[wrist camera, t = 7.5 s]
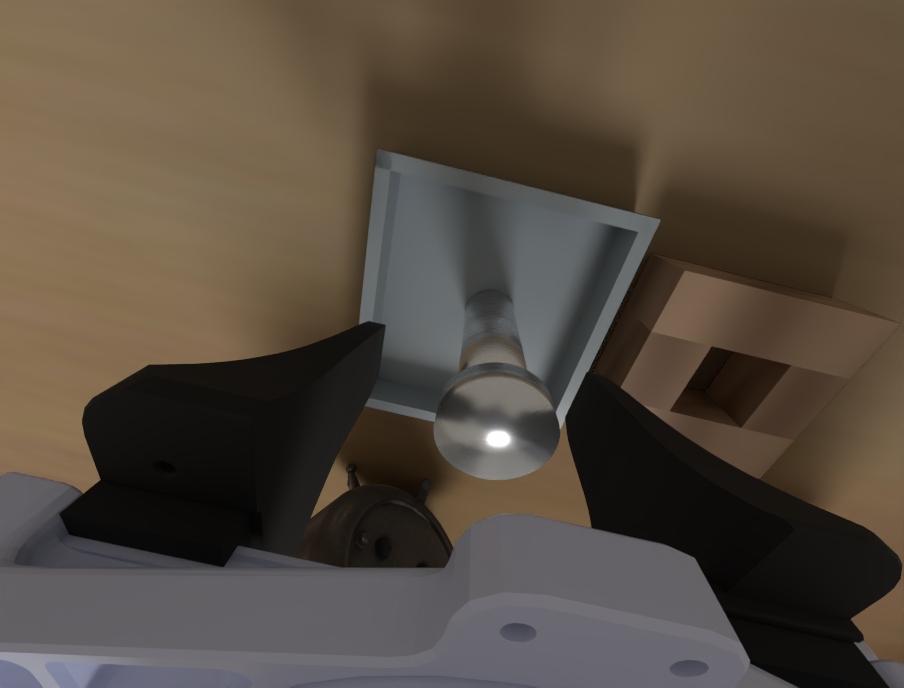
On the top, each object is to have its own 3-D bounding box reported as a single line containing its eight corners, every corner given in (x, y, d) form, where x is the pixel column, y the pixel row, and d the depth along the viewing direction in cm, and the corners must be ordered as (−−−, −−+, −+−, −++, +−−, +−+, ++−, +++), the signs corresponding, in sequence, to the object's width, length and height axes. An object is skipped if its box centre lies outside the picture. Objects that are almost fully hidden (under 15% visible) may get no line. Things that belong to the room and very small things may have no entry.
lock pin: (533, 288, 17) (580, 399, 9) (512, 348, 18) (535, 490, 10) (464, 271, 17) (447, 369, 9) (449, 334, 18) (423, 465, 10)
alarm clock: (323, 465, 24) (89, 904, 10) (372, 427, 22) (169, 905, 8) (433, 544, 27) (377, 967, 13) (484, 517, 25) (488, 978, 11)
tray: (635, 212, 15) (660, 219, 13) (543, 418, 21) (551, 448, 19) (392, 151, 15) (376, 148, 13) (365, 377, 20) (350, 402, 18)
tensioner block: (833, 298, 16) (901, 323, 14) (723, 438, 20) (759, 479, 18) (651, 253, 16) (684, 270, 13) (577, 404, 20) (591, 440, 18)
